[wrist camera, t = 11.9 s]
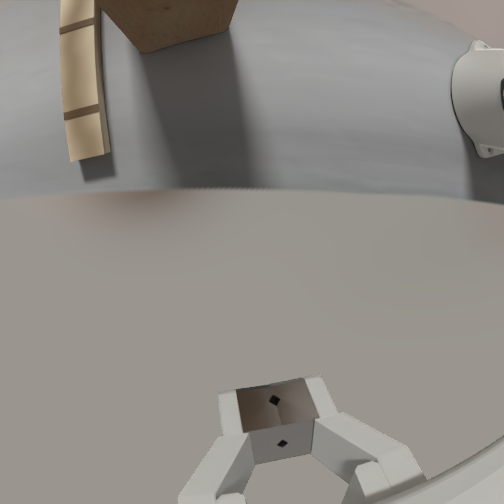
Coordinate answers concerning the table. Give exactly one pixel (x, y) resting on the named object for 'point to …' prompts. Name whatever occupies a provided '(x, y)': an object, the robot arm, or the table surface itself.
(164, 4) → the wooden block
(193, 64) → the table surface
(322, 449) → the robot arm
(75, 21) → the maple board
